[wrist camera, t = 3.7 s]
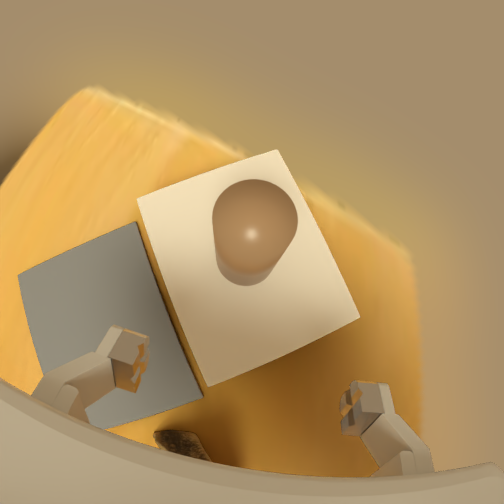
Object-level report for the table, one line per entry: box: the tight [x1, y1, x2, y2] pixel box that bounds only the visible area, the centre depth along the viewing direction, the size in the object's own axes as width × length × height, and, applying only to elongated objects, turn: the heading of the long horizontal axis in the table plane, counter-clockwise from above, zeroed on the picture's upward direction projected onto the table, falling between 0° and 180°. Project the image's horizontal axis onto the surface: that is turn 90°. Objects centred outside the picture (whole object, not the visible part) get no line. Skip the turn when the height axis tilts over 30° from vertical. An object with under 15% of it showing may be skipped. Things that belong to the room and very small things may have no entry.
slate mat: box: [18, 222, 203, 430], centre depth 29 cm, size 19×16×1 cm
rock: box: [153, 430, 212, 462], centre depth 23 cm, size 11×9×10 cm
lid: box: [137, 149, 360, 387], centre depth 21 cm, size 16×13×11 cm
